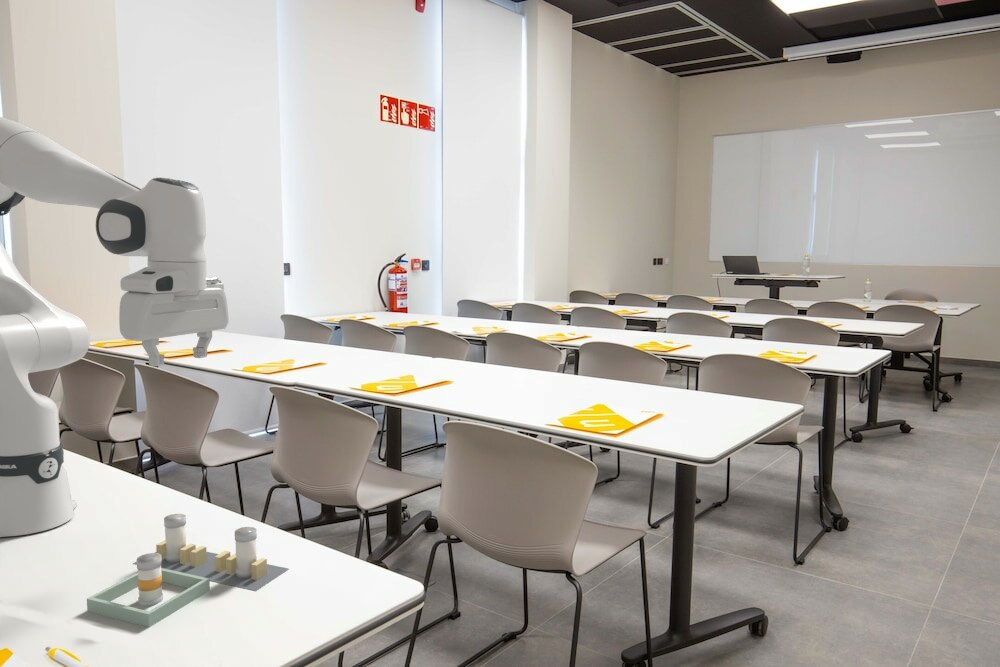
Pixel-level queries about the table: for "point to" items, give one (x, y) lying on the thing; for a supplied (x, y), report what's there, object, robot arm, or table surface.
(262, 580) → the fuse holder
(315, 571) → the table surface
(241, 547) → the outer fuse
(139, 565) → the marked fuse
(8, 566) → the table surface
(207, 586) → the parts tray
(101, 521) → the table surface
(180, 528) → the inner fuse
